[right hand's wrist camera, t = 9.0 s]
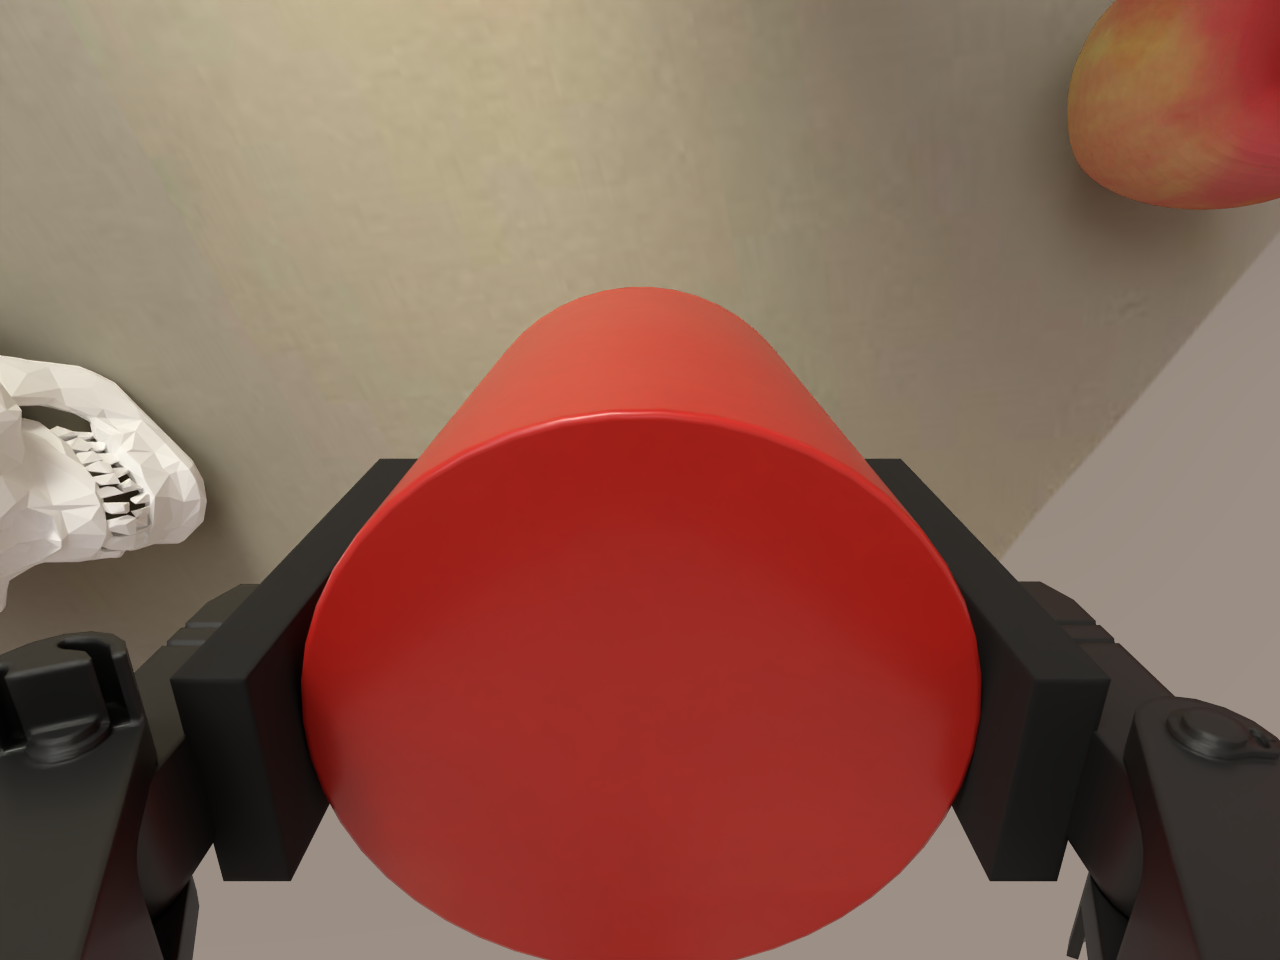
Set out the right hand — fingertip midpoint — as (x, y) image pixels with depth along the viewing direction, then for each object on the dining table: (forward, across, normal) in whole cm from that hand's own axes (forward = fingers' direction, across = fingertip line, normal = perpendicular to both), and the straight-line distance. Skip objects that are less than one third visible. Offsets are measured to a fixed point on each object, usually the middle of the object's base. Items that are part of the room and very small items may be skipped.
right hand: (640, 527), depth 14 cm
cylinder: (+4, 0, 0) cm, 4 cm away
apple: (+24, +21, +10) cm, 33 cm away
